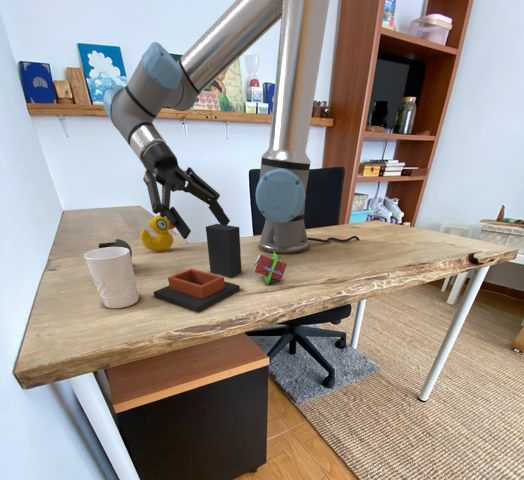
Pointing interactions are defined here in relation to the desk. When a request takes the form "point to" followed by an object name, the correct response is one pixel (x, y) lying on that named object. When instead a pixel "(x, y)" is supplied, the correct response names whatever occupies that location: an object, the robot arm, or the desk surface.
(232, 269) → the pad block
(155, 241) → the duckling
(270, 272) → the geometric puzzle
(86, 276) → the desk surface
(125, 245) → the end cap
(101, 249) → the white cup
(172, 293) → the base pad
